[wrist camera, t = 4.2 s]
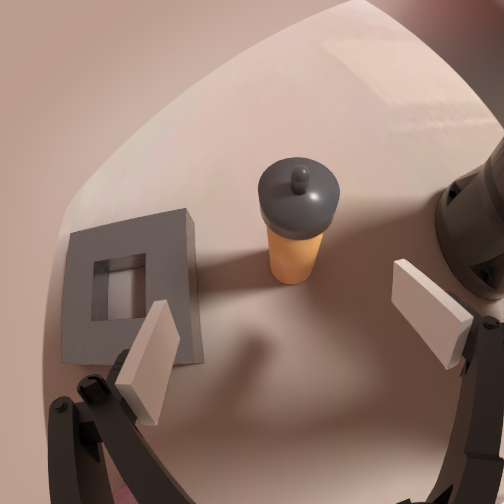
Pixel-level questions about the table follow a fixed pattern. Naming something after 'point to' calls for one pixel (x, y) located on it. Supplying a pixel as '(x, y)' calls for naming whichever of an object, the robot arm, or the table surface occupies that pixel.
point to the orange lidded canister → (296, 214)
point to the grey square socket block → (157, 286)
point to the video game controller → (124, 496)
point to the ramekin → (500, 498)
